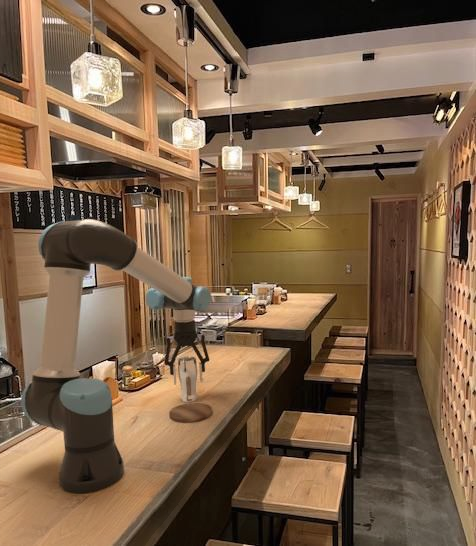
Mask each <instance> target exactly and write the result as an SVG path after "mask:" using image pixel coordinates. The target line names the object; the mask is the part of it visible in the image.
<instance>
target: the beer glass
mask: <svg viewBox="0 0 476 546" xmlns="http://www.w3.org/2000/svg"><path fill="white" fill-rule="evenodd" d="M177 375H178V380H179V384H180V389H181V396H180V401H181V402H182V403H195V402H196V401H197V400H198V399H199V396H198V394H197V382H198V363H197V358H196V356H191V355H190V356H188V355H187V356H183V357H178V359H177Z"/></svg>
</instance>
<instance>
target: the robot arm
mask: <svg viewBox="0 0 476 546" xmlns="http://www.w3.org/2000/svg"><path fill="white" fill-rule="evenodd" d="M37 242H38V243H37V245H38V252H39V254H40V255H41V258H42V259H43V261H44V265H43V266H44V268H43V269H44V271H45V272H46V273H47V274H48V276H49V279H48V289H47V297H46V306H45V318H44V326H43V335H42V336H43V337H42V344H41V352H40V365H39V367H38V368H36V370H35V371H33V373H32V379H31V380H30V382H28V385H27V386H25V387H24V390H23V392H22V394H21V399H20V403H21V409H22V412H23V414H24V416H26V418H28V420H30V421H31V422H34V423H35V424H37V425H39V426H44V427H48V428H50V429H51V428H52V429H53V430H56V431H60V432H63V442H64V453H63V458H62V461H61V462H62V463H61V466H60V470H59V472H58V474H59V475H58V478H59V486H60V488H61V487H62V488H63V489H64V490H63V489H62V488H61V489H62V490H63V491H65V492H69V493H72V494H86V493H92V492H96V491H100V490H102V489H105V488H108V487H110V486H111V485H113V484H114V483H116V482H118V480H120V479H121V478H122V476H124V475H123V474H124V473H125V467H124V460H123V458H122V454H121V453H120V451H119V448H118V446H117V444H116V442H115V430H114V429H115V427H114V414H113V411H114V410H113V396H112V392H111V388H110V386H109V384H108V383H107V382H105V381H104V380H103V379H99V378H94V377H93V378H92V377H90V378H87V377H83V378H81V377H80V376H81V373H80V372H79V371H78V369H77V368H76V359H77V358H76V357H77V347H78V338H79V327H80V316H81V306H82V297H83V289H84V288H83V287H84V286H83V285H84V278H86V277H87V276H88V275H90V273H91V265H92V264H93V265H102V266H106V267H108V268H110V269H112V270H113V271H117V272H118V271H119V272H120V271H123V272H125V273H126V274H128V275H130V276H132V277H133V278H135V279H137V280H138V281H140V282H141V283H142V284H143V283H144V284H145V285H147V286H149V287H150V288H149V289H148V290H147V291H146V293H145V303H146V306H147V307H148V308H150V309H151V310H152V311H157V310H158V311H159V310H164V309H167V310H169V309H172V311H173V320H174V322H173V325H174V334H173V335H172V336H166V339H165V340H166V350H165V356H164V357H165V358H164V363H163V364H164V365H165V366H168V367H169V374H170V376H173V385H177V373H176V372H177V371H176V370H177V369H176V364H175V361H176V358H177V356H178V355H179V352H180V349H181V347H192V349H193V350H194V353H195V354H196V356H197V358H198V360H199V362H198V367H199V382H200V383H203V373H205V372H206V363H207V362H210V356H209V352H208V350H207V346H206V343H205V340H206V339H205V337H206V335H205V334H204V333H202V334H199V333H197V329H196V328H197V326H196V320H195V319H196V314H195V313H196V312H195V311H203V310H204V311H205V310H207V309H209V307H210V305H211V301H212V293H211V291H210V289H209V288H208V287H206V286H201V285H198V286H196V284H195V285H194V281H193V278H192V277H190V276H181V275H180V274H178V273H176V272H175V271H174V270H173V269H171V268H170V267H168V266H166V265H165V264H163V263H162V262H160V261H159V260H157V259H156V258H154V257H153V256H151V255H150V254H149V253H147V252H146V251H144V250H143V249H141V248H140V247H138V244H137V242H136V240H135V239H134V238H132V237H130V236H129V235H128V234H126V233H125V232H123V231H121V230H120V229H118V228H116V227H115V226H113V225H111V224H108V223H106V222H104V221H102V220H97V219H93V218H85V219H78V220H64V221H63V220H62V221H58V222H56V223H52V224H51V225H48V226H47V227H45V229H44V230H43V231H42V232H41V233H40V236H39V239H38V241H37ZM197 339H198V340H199V341H200V343H201V347H202V351H203V353H204V356H205V357H203V355H202V354H201V352H200V350H199V349H198V346H197V344H196V343H195V342H196V340H197ZM173 341H175V342H176V343H177V345H176V347H175V350H174V351H173V353H172V357H171V359H170V361H169V358H170V353H171V346H172V345H171V344H172V343H173ZM73 492H74V493H73Z"/></svg>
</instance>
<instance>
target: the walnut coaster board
mask: <svg viewBox="0 0 476 546" xmlns="http://www.w3.org/2000/svg"><path fill="white" fill-rule="evenodd" d="M212 409H213V408H212V407H211V405H209V404H207V403H202V402H186V403H183V404H178V405H177V406H174V407H173V408H171V409H170V410H169V412H168V415H169V419H170V420H171V421H173V422H175V423H180V424H181V423H182V424H188V423H189V424H190V423H197V422H201V421H204V420H206V419H208V418H210V417H211V416H212V415H213V410H212Z"/></svg>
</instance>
